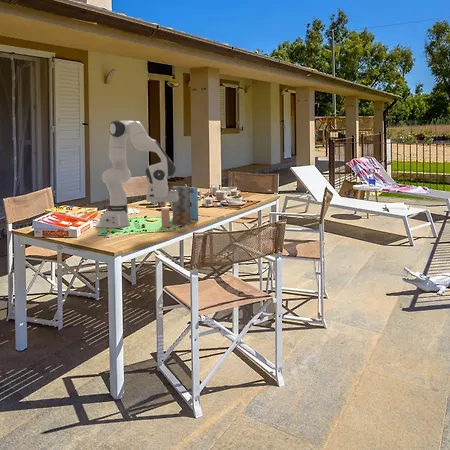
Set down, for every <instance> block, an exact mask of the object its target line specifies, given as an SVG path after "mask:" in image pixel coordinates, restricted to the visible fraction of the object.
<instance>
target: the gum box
mask: <svg viewBox="0 0 450 450" xmlns="http://www.w3.org/2000/svg"><path fill="white" fill-rule="evenodd" d="M174 187H180V186H177V185H176V186H174ZM189 187H190V186H189ZM198 196H199V195H198V187H193V186H191V187H190V220H198V219H199V197H198Z"/></svg>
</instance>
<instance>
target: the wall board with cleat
mask: <svg viewBox="0 0 450 450" xmlns="http://www.w3.org/2000/svg"><path fill="white" fill-rule="evenodd" d="M171 190H176V191H178V192H179V194H178V196H179V200H178V201H177V202H173V203H172V205H171V206H172V223H173V222H174V223H173V225H174V224H177V226H180V225H181V226H183V225H186V226H188V225H189V224H190V223H191V219H190V186H179V187H175V186H171Z"/></svg>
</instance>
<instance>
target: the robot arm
mask: <svg viewBox="0 0 450 450" xmlns="http://www.w3.org/2000/svg"><path fill="white" fill-rule="evenodd" d="M109 123H110V124H109V127H108V130H109V133H110V137H109V143H108V146H109V148H108V159H109V161H111V164H112V165H111V166H112V168H108V169H106V170H105V171H103V172H102V174H101V180H102V182H103V183H104V184H105V185H106V187H107V190H108V194H109V204H108V205H107V206H106V209H107V210H106V211H105V212H104V213H103V214H102V215H101V216H100V217H99V222H98V223H97V224H96V225H95V226H96V228H105V229H106V228H108V229H109V228H112V229H113V228H114V229H116V228H117V229H118V228H124V227H128V226H130V225H131V223H130V220H129V216H128V215H129V214H128V212H129V207H128V206H129V205H128V201H127V200H128V199H127V192H126V191H125V190H124V187H123V184H125V183H127V182H128V181H130V180H131V179H132V172H131V171H130V169H129V167H128V166H129V165H128V163H127V141H128V139H130V142H131V144H132V145H133V147H134V149H136V150H138V151H140V152H152V153H156V154H157V156H158V157H159V158H160V160H161V162H157V163H155V164H151V165H149V166H147V167H146V169H145V176H146V179H147V181H148V182H149V184H151V186H148V187H147V190H146V195H145V196H146V199H145V200H146V202H147V203H152V204H154V206H158V203H164V202H165V203H167V202H169V206H173V205H172V203H173V202H177V201H178V200H179V196H178V194H179V192H178V191H176V190H172V189H170V190H169V185H168V177H171V176H172V177H173V176H174V175H175V173H176V170H177V169H176V165H175V163H174V162H173V161H172V160H171V158H170V157H169V155H167V153H166V152H165V150H164V149H163V147H162V146H161V145H160V143H159V142H158V141H157V140H156V139H153V138H152V137H150V135H149V134H148V133H147V130H146V129H145V127H144V126H143V124H142V123H141V122H140V121H138V120H126V119H125V120H113V121H111V122H109Z"/></svg>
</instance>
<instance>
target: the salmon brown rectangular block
mask: <svg viewBox="0 0 450 450" xmlns="http://www.w3.org/2000/svg"><path fill="white" fill-rule="evenodd" d="M160 211H161V215H160V216H161V227H162V228H170V227H171V225H170V224H171V223H170V222H171V221H170V220H171V219H170V208H169V207H167V208H166V207H162V208H161V210H160ZM169 226H170V227H169Z"/></svg>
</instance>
